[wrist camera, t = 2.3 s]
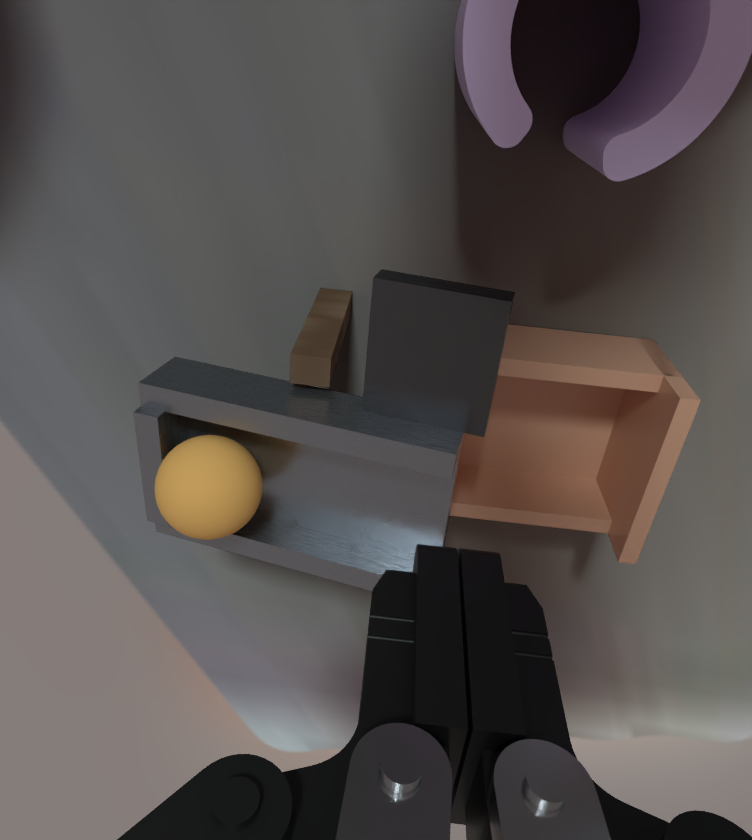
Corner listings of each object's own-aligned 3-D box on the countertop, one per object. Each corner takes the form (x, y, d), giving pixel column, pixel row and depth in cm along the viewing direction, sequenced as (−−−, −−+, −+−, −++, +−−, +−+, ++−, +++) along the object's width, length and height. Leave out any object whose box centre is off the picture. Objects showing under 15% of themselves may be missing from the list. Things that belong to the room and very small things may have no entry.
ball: (182, 407, 25) (127, 461, 22) (277, 426, 25) (235, 485, 21) (189, 488, 27) (139, 549, 24) (277, 507, 27) (238, 572, 23)
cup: (427, 466, 34) (427, 540, 29) (450, 318, 30) (455, 373, 25) (604, 486, 34) (635, 564, 29) (653, 339, 30) (700, 400, 24)
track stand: (313, 465, 35) (287, 560, 28) (320, 288, 30) (290, 354, 23) (340, 468, 35) (319, 564, 28) (352, 291, 30) (331, 358, 23)
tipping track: (187, 497, 29) (149, 538, 27) (164, 232, 23) (112, 252, 20) (458, 569, 27) (444, 621, 24) (514, 292, 20) (505, 323, 18)
